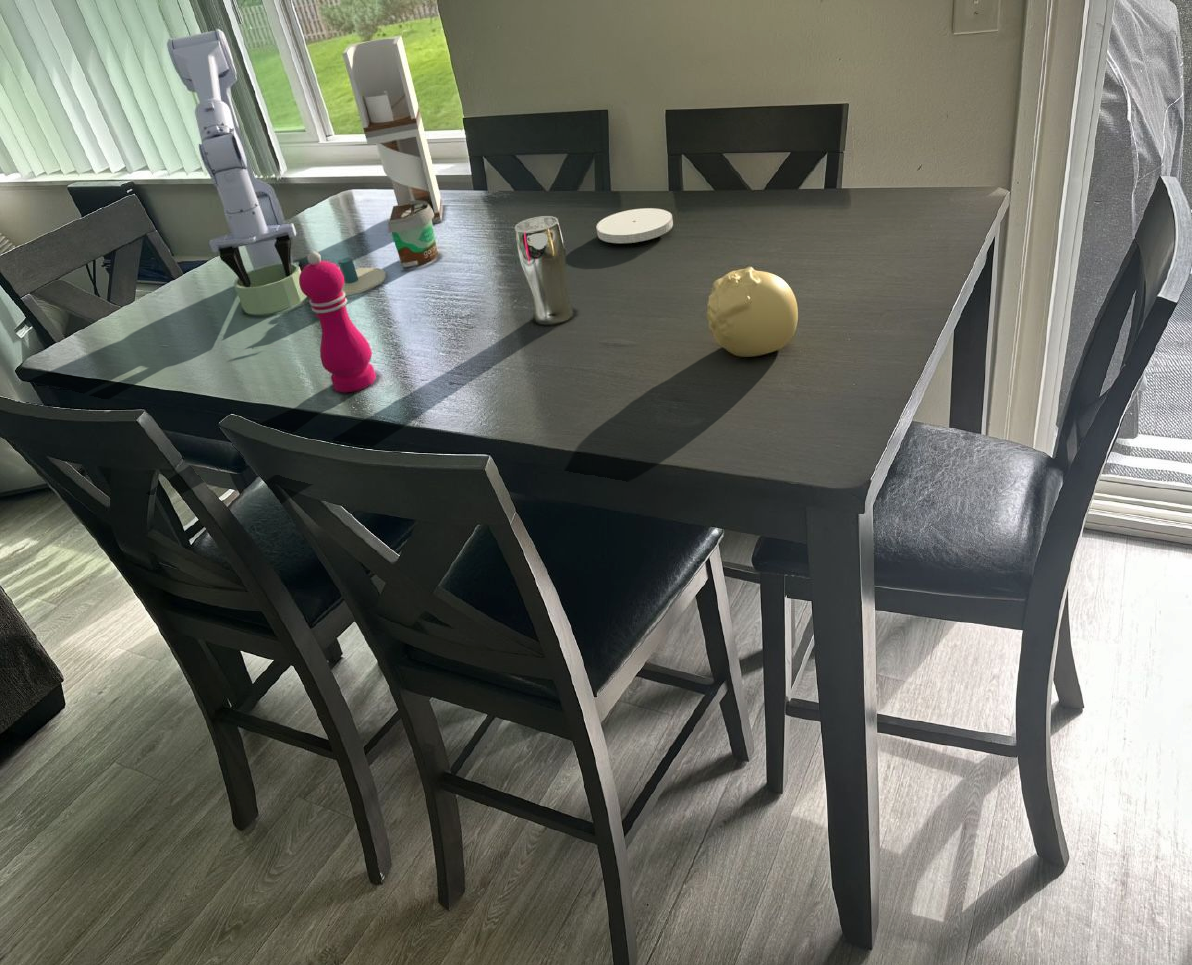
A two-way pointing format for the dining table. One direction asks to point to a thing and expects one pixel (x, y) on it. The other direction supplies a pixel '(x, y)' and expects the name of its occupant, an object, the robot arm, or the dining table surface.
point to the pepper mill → (336, 327)
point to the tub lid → (359, 277)
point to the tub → (270, 289)
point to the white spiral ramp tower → (393, 120)
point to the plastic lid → (634, 225)
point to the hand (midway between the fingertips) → (269, 282)
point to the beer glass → (544, 267)
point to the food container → (414, 234)
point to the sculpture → (752, 312)
